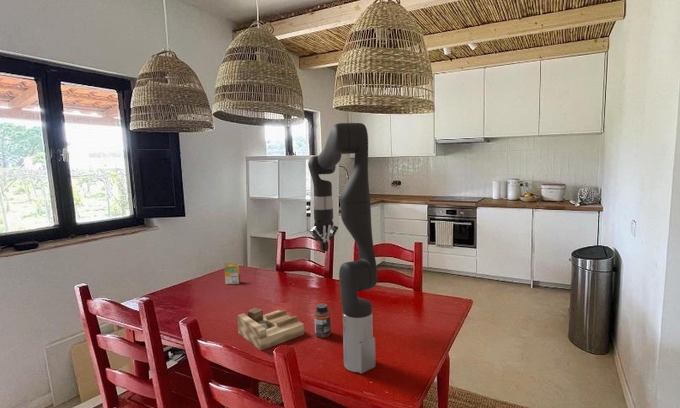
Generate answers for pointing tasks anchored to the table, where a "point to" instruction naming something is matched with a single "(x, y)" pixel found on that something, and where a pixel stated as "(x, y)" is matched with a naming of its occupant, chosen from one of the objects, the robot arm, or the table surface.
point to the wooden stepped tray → (270, 329)
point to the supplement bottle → (322, 321)
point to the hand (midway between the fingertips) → (324, 251)
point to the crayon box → (232, 273)
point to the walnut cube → (256, 314)
